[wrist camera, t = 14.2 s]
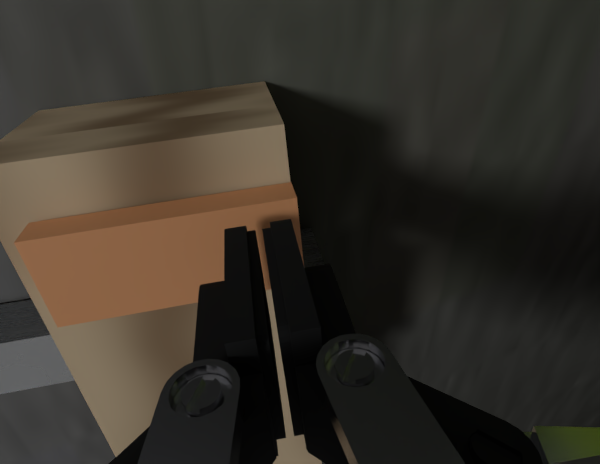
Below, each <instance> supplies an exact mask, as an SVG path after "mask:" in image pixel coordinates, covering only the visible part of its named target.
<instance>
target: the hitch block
mask: <svg viewBox="0 0 600 464" xmlns="http://www.w3.org/2000/svg"><path fill="white" fill-rule="evenodd" d="M289 182H290V173H289V164H288V155H287V146H286V136H285V127H284V123H283V121H282V118H281V116H280V114H279V112H278V110H277V107H276V105H275V103H274V101H273V99H272V96H271V94H270V92H269V90H268V88H267V85H266V83H265V81H264V82H256V83H248V84H240V85H233V86H225V87H217V88H210V89H202V90H194V91H186V92H179V93H171V94H163V95H155V96H148V97H140V98H132V99H125V100H117V101H109V102H101V103H94V104H86V105H78V106H71V107H63V108H55V109H47V110H40V111H38V112H36V113H35V114H34V115H32V116H31V117H30V118H28V119H27V120H26V121H24V122H23V123H22V124H21V125H19V126H18V127H17V128H15V129H14V130H13V131H11V132H10V133H9V134H7V135H6V136H5V137H3V138H2V139H1V140H0V241H1V243H2V245H3V247H4V249H5V250H6V252H7V254H8V256H9V258H10V260H11V262H12V263H13V265H14V267H15V269H16V271H17V273H18V275H19V277H20V278H21V280H22V282H23V284H24V286H25V288H26V290H27V292H28V293H29V295H30V297H31V299H32V301H33V303H34V305H35V307H36V308H37V310H38V312H39V314H40V316H41V318H42V320H43V322H44V323H45V325H46V327H47V329H48V331H49V333H50V335H51V336H52V338H53V340H54V342H55V344H56V346H57V348H58V350H59V351H60V353H61V355H62V357H63V359H64V361H65V363H66V365H67V366H68V368H69V370H70V372H71V374H72V376H73V378H74V380H75V381H76V383H77V385H78V387H79V389H80V391H81V393H82V395H83V396H84V398H85V400H86V402H87V404H88V406H89V408H90V409H91V411H92V413H93V415H94V417H95V419H96V421H97V423H98V424H99V426H100V428H101V430H102V432H103V434H104V436H105V438H106V439H107V441H108V443H109V445H110V447H111V449H112V451H113V453H114V454H115V456H116V457H117V456H118V455H119V454H120V453H121V452H122V451H123V450H124V449H125V448H126V447H128V446H129V445H130V444H131V443H132V442H133V441H134V440H135V439H136V438H137V437H138V436H139V435H141V434H142V433H143V432H144V431H145V430H146V429H147V428H148V427H149V426H150V424H151V421H152V418H153V415H154V412H155V409H156V406H157V403H158V400H159V397H160V394H161V391H162V389H163V387H164V385H165V383H166V381H167V380H168V379H169V378H170V377H171V376H172V375H173V374H174V373H175V372H176V371H178V370H179V369H181V368H182V367H183V366H185V365H187V364H190V363H192V362H193V355H194V343H195V331H196V319H197V307H198V302H197V303H192V304H186V305H180V306H175V307H169V308H164V309H158V310H153V311H147V312H141V313H136V314H130V315H125V316H119V317H113V318H108V319H102V320H97V321H91V322H85V323H80V324H74V325H69V326H63V327H57V325H56V323H55V322H54V320H53V318H52V316H51V314H50V312H49V310H48V308H47V306H46V304H45V302H44V300H43V298H42V296H41V294H40V292H39V291H38V289H37V287H36V285H35V283H34V281H33V279H32V277H31V275H30V273H29V271H28V269H27V267H26V265H25V263H24V262H23V260H22V258H21V256H20V254H19V252H18V250H17V248H16V246H15V244H14V242H15V240H16V239H17V238H18V236H19V235H20V234H21V232H22V231H23V230H24V228H25V227H26V226H27V224H28V223H31V222H37V221H43V220H50V219H56V218H63V217H69V216H76V215H82V214H89V213H95V212H102V211H108V210H114V209H121V208H127V207H134V206H140V205H147V204H153V203H160V202H166V201H173V200H179V199H185V198H192V197H198V196H205V195H211V194H218V193H224V192H231V191H237V190H244V189H250V188H256V187H263V186H269V185H276V184H282V183H289ZM266 296H267V302H268V308H269V314H270V320H271V328H272V335H273V343H274V350H275V358H276V365H277V373H278V380H279V388H280V395H281V403H282V410H283V417H284V425H285V433H286V438H283V439H278V440H277V447H278V455H279V456H276V458H277V459H276V460H275V461H274V462H273V464H322V462H321V460H319V459H318V458H316V457H314V456H313V455H311V454H310V453H308V450H306V444H305V438H304V435H298V436H294V432H293V426H292V420H291V413H290V407H289V401H288V394H287V388H286V382H285V376H284V369H283V363H282V357H281V350H280V344H279V338H278V331H277V325H276V318H275V311H274V305H273V298H272V291H271V289H270V290H266Z"/></svg>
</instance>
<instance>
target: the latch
mask: <svg viewBox="0 0 600 464" xmlns="http://www.w3.org/2000/svg"><path fill="white" fill-rule="evenodd" d="M286 219H291V221H292V224H293V228H294V232H295V235H296V239H297V243H298V246H299V250H300V254H301V257H302V261H303V265H304V260H303V251H302V241H301V231H300V222H299V212H298V203H297V196H296V194H295V191H294V188H293V186H292V183H291V182H289V183H282V184H276V185H269V186H263V187H256V188H250V189H244V190H237V191H231V192H224V193H218V194H211V195H205V196H198V197H192V198H185V199H179V200H173V201H166V202H160V203H153V204H147V205H140V206H134V207H127V208H121V209H114V210H108V211H102V212H95V213H89V214H82V215H76V216H69V217H63V218H56V219H50V220H43V221H37V222H31V223H28V224H27V226H26V227H25V228H24V230H23V231H22V232H21V234H20V235H19V236H18V238H17V239H16V240H15V242H14V244H15V246H16V248H17V250H18V252H19V254H20V256H21V258H22V260H23V262H24V263H25V265H26V267H27V269H28V271H29V273H30V275H31V277H32V279H33V281H34V283H35V285H36V287H37V289H38V291H39V292H40V294H41V296H42V298H43V300H44V302H45V304H46V306H47V308H48V310H49V312H50V314H51V316H52V318H53V320H54V322H55V323H56V325H57V327H63V326H69V325H74V324H80V323H85V322H91V321H97V320H102V319H108V318H113V317H119V316H125V315H130V314H136V313H141V312H147V311H153V310H158V309H164V308H169V307H175V306H180V305H186V304H192V303H197V302H198V295H199V287H200V285H201V284H207V283H213V282H219V281H224V229H227V228H234V227H241V226H246V227H247V231H252V230H255V231H256V236H257V242H258V248H259V254H260V260H261V266H262V272H263V278H264V284H265V290H270V289H271V284H270V278H269V271H268V264H267V258H266V251H265V244H264V237H263V231H262V229H265V228H270V222H273V221H280V220H286Z"/></svg>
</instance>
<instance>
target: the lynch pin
mask: <svg viewBox="0 0 600 464" xmlns="http://www.w3.org/2000/svg"><path fill="white" fill-rule="evenodd" d="M300 231H301V241H302V251H303V260H304V268H305V267H312V266H318V265H324V261H323V258H322V256H321V253H320V250H319V248H318V245H317V242H316V240H315V237H314V234H313V232H312V229H311V228H305V229H300ZM73 380H74V378H73V376H72V374H71V372H70V370H69V368H68V366H67V365H66V363H65V361H64V359H63V357H62V355H61V353H60V351H59V350H58V348H57V346H56V344H55V342H54V340H53V338H52V336H51V335H50V333H49V331H48V329H47V327H46V325H45V323H44V322H43V320H42V318H41V316H40V314H39V312H38V310H37V308H36V307H35V305H34V303H33V301H32V299H30V300H24V301H18V302H12V303H6V304H0V394H4V393H9V392H15V391H20V390H25V389H31V388H36V387H41V386H47V385H52V384H57V383H63V382H68V381H73Z"/></svg>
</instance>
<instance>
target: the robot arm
mask: <svg viewBox="0 0 600 464" xmlns="http://www.w3.org/2000/svg"><path fill="white" fill-rule="evenodd" d="M262 231H263V237H264V244H265V251H266V258H267V264H268V271H269V278H270V284H271V291H272V298H273V305H274V311H275V318H276V325H277V331H278V338H279V344H280V350H281V357H282V363H283V369H284V376H285V382H286V388H287V394H288V401H289V407H290V413H291V420H292V426H293V432H294V436H298V435H304V438H305V444H306V450H308V453H310V454H311V455H313V456H314V457H316V458H318V459H319V460H321V461H322V462H324V463H325V464H600V428H589V427H552V426H534V427H533V430H532V432H522V431H521V430H520V429H518V428H516V427H515V426H513V425H511V424H510V423H508V422H506V421H504V420H502V419H500V418H498V417H495V416H493V415H491V414H489V413H487V412H484V411H482V410H480V409H478V408H476V407H473V406H471V405H469V404H467V403H465V402H462V401H460V400H458V399H456V398H454V397H452V396H449V395H447V394H445V393H443V392H441V391H438V390H436V389H434V388H432V387H430V386H427V385H425V384H423V383H421V382H419V381H416V380H414V379H412V378H410V377H408V376H407V375H406V374H405V372H404V371H403V369H402V368H401V366H400V365H399V363H398V362H397V360H396V359H395V357H394V356H393V354H392V353H391V351H390V350H389V349H388V348H387V347H386V346H385V345H384V344H383V343H382V342H381V341H379V340H377V339H375V338H374V337H371V336H367V335H364V334H356V333H355V330H354V327H353V325H352V322H351V319H350V317H349V314H348V311H347V308H346V306H345V303H344V300H343V297H342V295H341V292H340V289H339V287H338V284H337V281H336V278H335V276H334V273H333V270H332V268H331V266H330V264H324V265H318V266H312V267H305V268H304V265H303V261H302V257H301V254H300V250H299V246H298V243H297V239H296V235H295V232H294V228H293V224H292V221H291V219H286V220H280V221H273V222H270V228H265V229H262ZM283 438H286V433H285V425H284V417H283V410H282V403H281V395H280V388H279V380H278V373H277V365H276V358H275V350H274V343H273V335H272V328H271V320H270V314H269V308H268V302H267V296H266V290H265V284H264V278H263V272H262V266H261V260H260V254H259V248H258V242H257V236H256V231H255V230H252V231H247V227H246V226H241V227H234V228H227V229H224V281H219V282H213V283H207V284H201V285H200V287H199V295H198V307H197V319H196V331H195V343H194V355H193V362H192V363H190V364H187V365H185V366H183V367H182V368H181V369H179V370H178V371H176V372H175V373H174V374H173V375H172V376H171V377H170V378H169V379H168V380H167V381H166V383H165V385H164V387H163V389H162V391H161V394H160V397H159V400H158V403H157V406H156V409H155V412H154V415H153V418H152V421H151V424H150V426H149V427H148V428H147V429H146V430H145V431H144V432H143V433H142V434H141V435H139V436H138V437H137V438H136V439H135V440H134V441H133V442H132V443H131V444H130V445H129V446H128V447H126V448H125V449H124V450H123V451H122V452H121V453H120V454H119V455H118V456H117V457H116V458H115V459H113V460H112V461H111V462H110V463H109V464H273V462H274V461H275V460H276V459H277V458H276V456H279V455H278V447H277V440H278V439H283Z"/></svg>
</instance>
